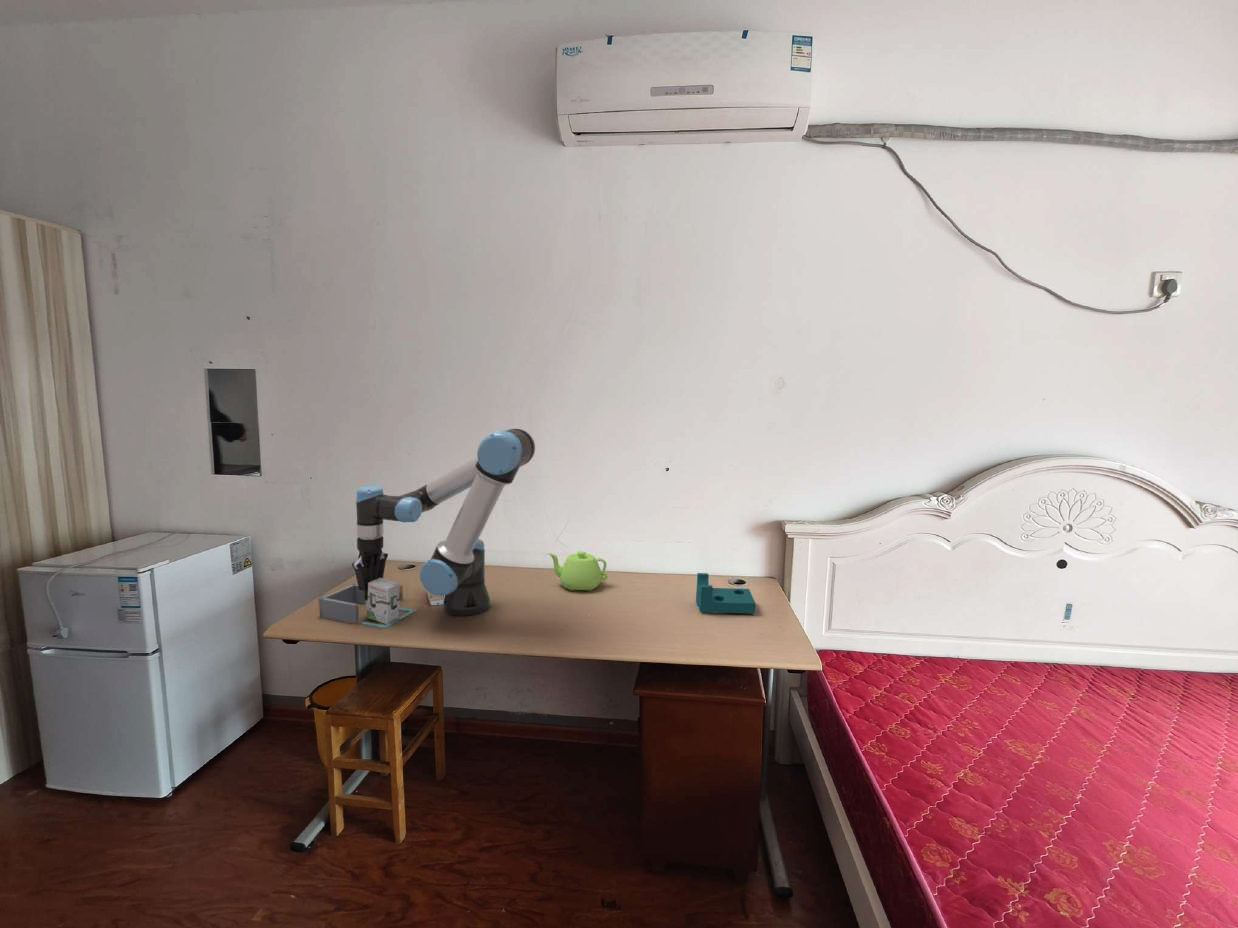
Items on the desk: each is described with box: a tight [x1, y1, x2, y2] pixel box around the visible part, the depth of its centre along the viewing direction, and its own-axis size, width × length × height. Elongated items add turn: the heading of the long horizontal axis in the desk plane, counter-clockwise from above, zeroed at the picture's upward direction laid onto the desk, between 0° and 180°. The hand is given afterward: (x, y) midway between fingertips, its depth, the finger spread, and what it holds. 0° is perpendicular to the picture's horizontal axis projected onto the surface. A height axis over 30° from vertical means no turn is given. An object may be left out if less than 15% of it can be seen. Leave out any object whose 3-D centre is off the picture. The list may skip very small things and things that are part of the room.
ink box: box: [366, 577, 401, 625], centre depth 176 cm, size 9×5×12 cm, turn 67°
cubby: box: [318, 583, 366, 625], centre depth 182 cm, size 14×14×6 cm
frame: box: [362, 606, 417, 630], centre depth 178 cm, size 8×14×1 cm, turn 161°
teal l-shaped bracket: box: [695, 572, 757, 614], centre depth 191 cm, size 18×11×10 cm, turn 90°
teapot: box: [547, 550, 608, 592], centre depth 209 cm, size 22×15×13 cm
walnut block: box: [399, 584, 404, 602], centre depth 192 cm, size 5×5×5 cm
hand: (371, 608), depth 180 cm, fingers closed
